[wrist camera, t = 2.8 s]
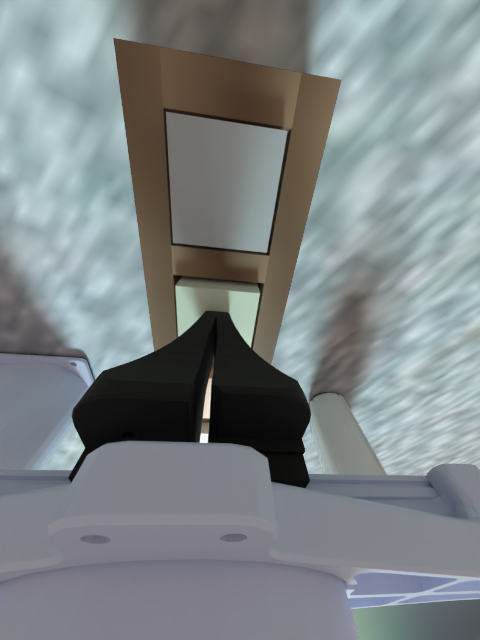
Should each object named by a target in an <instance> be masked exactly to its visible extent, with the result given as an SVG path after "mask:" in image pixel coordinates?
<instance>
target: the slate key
mask: <svg viewBox="0 0 480 640" xmlns="http://www.w3.org/2000/svg"><path fill="white" fill-rule="evenodd" d="M166 122H167V141H168V159H169V178H170V196H171V214H172V233H173V243H179V244H188V245H198V246H207V247H217V248H226V249H236V250H245V251H254V252H264V253H267V249H268V243H269V238H270V232H271V226H272V220H273V214H274V208H275V202H276V197H277V191H278V185H279V179H280V173H281V167H282V161H283V155H284V150H285V144H286V138H287V132H288V131H285V130H278V129H272V128H266V127H259V126H253V125H247V124H240V123H234V122H228V121H221V120H215V119H209V118H202V117H196V116H190V115H184V114H177V113H171V112H166Z"/></svg>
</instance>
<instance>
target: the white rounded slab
mask: <svg viewBox="0 0 480 640" xmlns="http://www.w3.org/2000/svg"><path fill="white" fill-rule="evenodd" d="M309 407H310V411H311V418H310V423H311V431H312V437H313V442H314V445H315V449H316V451H317V454H318V457H319V460H320V463H321V466H322V469H323V472H324V474H340V475H387V474H386V472H385V470H384V468H383V467H382V465H381V463H380V461H379V459H378V458H377V456H376V454H375V452H374V450H373V449H372V447H371V445H370V443H369V442H368V440H367V438H366V436H365V435H364V433H363V431H362V429H361V427H360V426H359V424H358V422H357V420H356V419H355V417H354V415H353V413H352V412H351V410H350V408H349V406H348V405H347V403H346V401H345V400H344V398H343V397H342V396H341V395H337V394H335V393H324V394H321V395H318V396H316V397H314V398H313V400H312V401H310V406H309Z"/></svg>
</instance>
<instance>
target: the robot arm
mask: <svg viewBox="0 0 480 640" xmlns="http://www.w3.org/2000/svg"><path fill="white" fill-rule="evenodd" d="M213 358H214V370H213V377H212V383H211V400H210V419H209V433H208V443H200V436H201V427H202V419H203V411H204V402H205V395H206V389H207V385H208V380H209V376H210V372H211V367H212V363H213ZM310 418H311V411H310V407H309V404H308V402H307V399H306V397H305V395H304V392H303V391H302V389H301V387H300V385H299V383H298V381H296V380H295V379H293V378H291V377H289V376H288V375H286V374H284V373H282V372H281V371H279V370H277V369H276V368H275V367H273V366H272V365H270V364H269V363H268V362H266V361H265V360H264V359H263V358H261V357H260V356H259V355H258V354H257V353H256V352H255V351H254V350H253V349H252V348H251V347H250V346H249V345H248V344H247V343H246V341H245V340H244V339H243V337H242V336H241V335H240V333H239V331H238V330H237V328H236V327H235V325H234V323H233V321H232V319H231V316H230V314H229V313H228V312H219V311H205V312H204V313H203V314H202V316H201V317H200V318H199V319H198V320H197V321H196V322H195V323H194V324H193V325H192V326H191V327H190V328H189V329H188V330H186V331H185V332H184V333H183V334H182V335H180V336H179V337H178V338H176V339H175V340H174V341H172V342H171V343H169V344H167V345H165V346H164V347H162V348H160V349H158V350H156V351H154V352H152V353H150V354H148V355H146V356H144V357H141V358H139V359H137V360H134V361H132V362H129V363H126V364H123V365H120V366H117V367H114V368H111V369H108V370H105V371H103V372H102V373H101V374H100V375H99V376H98V377H97V379H96V380H95V381H94V379H93V377H92V374H91V371H90V368H89V365H88V362H87V361H86V360H85V359H83V358H73V357H56V356H39V355H21V354H4V353H0V640H360V638H359V635H358V631H357V628H356V624H355V621H354V618H353V614H352V611H351V609H355V608H366V607H377V606H389V605H400V604H413V603H424V602H437V601H450V600H467V599H480V470H479V469H478V468H477V467H476V466H475V465H472V464H441V465H438V466H436V467H434V468H432V469H431V470H430V471H429V472H428V473H427V475H426V476H407V475H340V474H308V471H307V468H306V464H305V460H304V457H303V454H304V452H305V448H304V444H303V441H302V437H303V435H304V433H305V430H306V428H307V426H308V424H309V422H310ZM73 426H75V428H76V430H77V432H78V434H79V436H80V438H81V440H82V442H83V444H84V446H85V450H84V452H83V453H82V455H81V457H80V458H79V460H78V462H77V463H76V465H75V467H74V468H73V470H72V471H70V470H43V468H44V467H45V465H46V464H47V462H48V461H49V460H50V458H51V457H52V455H53V454H54V453H55V451H56V450H57V448H58V447H59V445H60V444H61V443H62V441H63V440H64V438H65V437H66V436H67V434H68V433H69V431H70V430H71V428H72V427H73Z"/></svg>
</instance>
